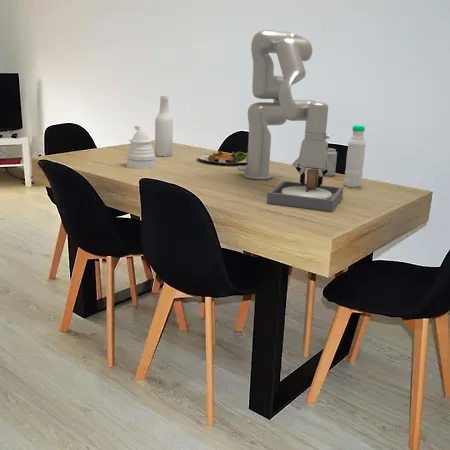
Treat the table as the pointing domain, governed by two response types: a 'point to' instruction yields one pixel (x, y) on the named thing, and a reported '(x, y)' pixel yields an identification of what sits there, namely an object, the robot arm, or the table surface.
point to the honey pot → (140, 151)
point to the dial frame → (301, 201)
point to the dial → (309, 188)
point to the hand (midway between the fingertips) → (310, 185)
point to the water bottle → (355, 157)
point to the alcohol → (163, 129)
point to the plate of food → (225, 157)
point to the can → (331, 161)
